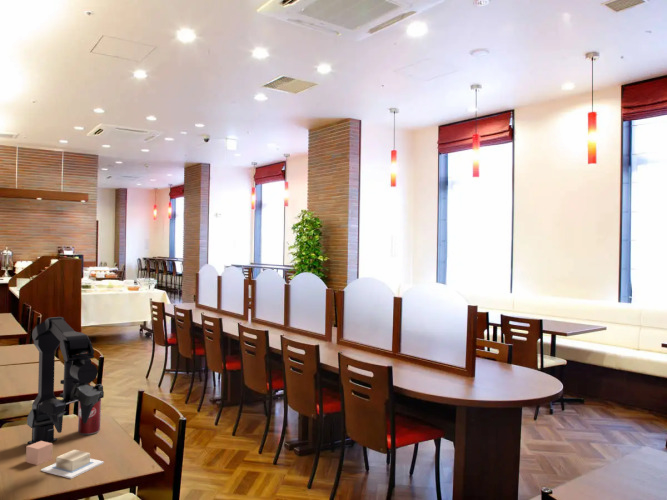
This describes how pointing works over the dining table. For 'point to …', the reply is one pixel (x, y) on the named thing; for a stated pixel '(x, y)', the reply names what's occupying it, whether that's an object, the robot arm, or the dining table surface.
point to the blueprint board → (72, 474)
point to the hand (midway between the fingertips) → (72, 427)
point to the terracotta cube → (39, 452)
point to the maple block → (72, 460)
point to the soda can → (90, 420)
